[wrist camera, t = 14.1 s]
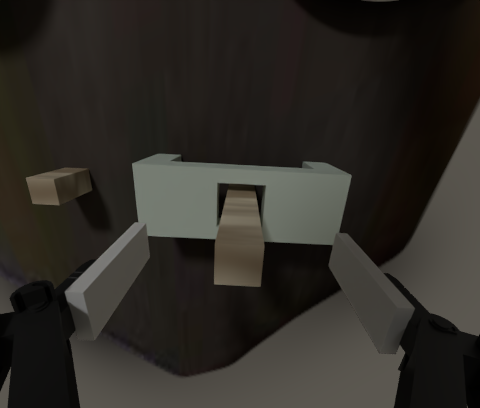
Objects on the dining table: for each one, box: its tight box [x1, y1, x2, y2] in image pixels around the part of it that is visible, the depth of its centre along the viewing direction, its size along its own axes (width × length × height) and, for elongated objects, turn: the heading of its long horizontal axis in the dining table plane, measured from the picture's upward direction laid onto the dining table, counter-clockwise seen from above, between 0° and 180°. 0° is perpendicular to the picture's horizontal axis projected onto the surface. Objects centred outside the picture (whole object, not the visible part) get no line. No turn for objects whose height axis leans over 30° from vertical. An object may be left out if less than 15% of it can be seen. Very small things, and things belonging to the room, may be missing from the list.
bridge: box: [132, 154, 352, 245], centre depth 28 cm, size 8×22×8 cm, turn 87°
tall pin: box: [214, 183, 265, 287], centre depth 23 cm, size 3×3×18 cm
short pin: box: [26, 168, 92, 205], centre depth 28 cm, size 3×3×6 cm
